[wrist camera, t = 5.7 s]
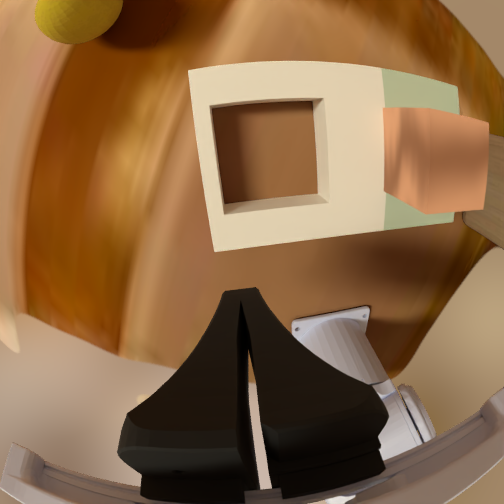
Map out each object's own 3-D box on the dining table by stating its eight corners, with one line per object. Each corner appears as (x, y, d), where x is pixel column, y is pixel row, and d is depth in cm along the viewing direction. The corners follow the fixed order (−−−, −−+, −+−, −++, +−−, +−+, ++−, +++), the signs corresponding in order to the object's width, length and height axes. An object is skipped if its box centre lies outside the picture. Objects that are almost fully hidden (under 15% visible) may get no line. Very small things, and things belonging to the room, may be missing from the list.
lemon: (125, -16, 10) (85, -61, 3) (146, 26, 13) (104, -19, 6) (66, 22, 11) (10, -2, 4) (83, 66, 13) (19, 49, 6)
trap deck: (436, 212, 21) (453, 221, 19) (215, 237, 21) (214, 252, 18) (438, 87, 16) (457, 86, 14) (193, 77, 15) (188, 70, 13)
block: (440, 189, 18) (483, 209, 13) (383, 191, 17) (425, 214, 13) (442, 116, 15) (488, 122, 10) (382, 107, 15) (429, 108, 10)
